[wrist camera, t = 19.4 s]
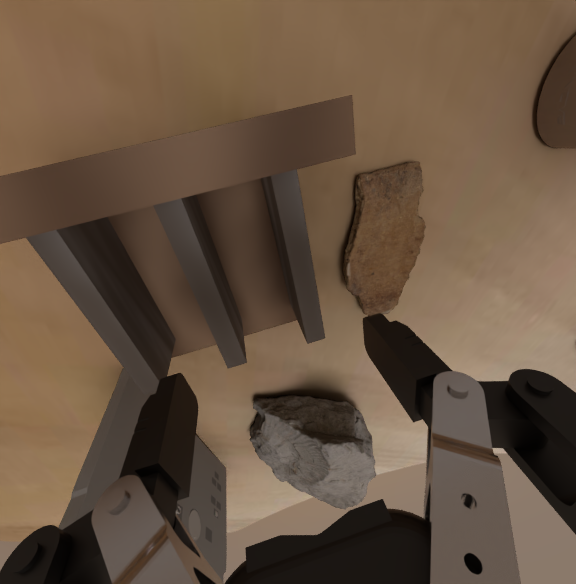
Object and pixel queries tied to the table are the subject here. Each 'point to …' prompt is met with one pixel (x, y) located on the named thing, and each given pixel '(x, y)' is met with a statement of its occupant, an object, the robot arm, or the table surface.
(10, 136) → the table surface
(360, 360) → the table surface
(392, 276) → the pottery shard
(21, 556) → the robot arm
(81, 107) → the table surface
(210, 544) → the office telephone
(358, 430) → the fossil stone
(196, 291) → the drying rack
